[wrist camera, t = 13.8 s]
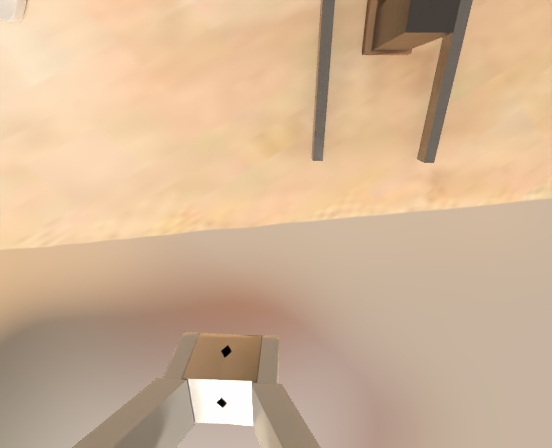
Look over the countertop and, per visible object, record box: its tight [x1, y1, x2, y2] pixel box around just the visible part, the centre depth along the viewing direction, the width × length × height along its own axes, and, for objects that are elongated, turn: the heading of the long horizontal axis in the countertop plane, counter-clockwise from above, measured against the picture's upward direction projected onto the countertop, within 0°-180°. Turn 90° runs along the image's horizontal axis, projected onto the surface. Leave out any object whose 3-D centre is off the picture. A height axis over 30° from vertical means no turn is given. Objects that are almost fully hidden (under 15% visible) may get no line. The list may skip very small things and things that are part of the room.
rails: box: [312, 0, 473, 163], centre depth 30 cm, size 15×30×2 cm, turn 0°
